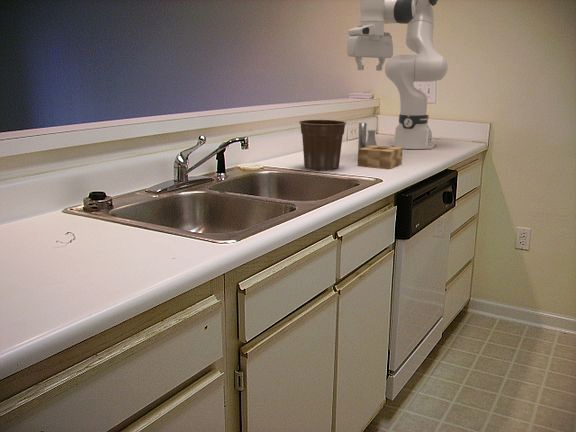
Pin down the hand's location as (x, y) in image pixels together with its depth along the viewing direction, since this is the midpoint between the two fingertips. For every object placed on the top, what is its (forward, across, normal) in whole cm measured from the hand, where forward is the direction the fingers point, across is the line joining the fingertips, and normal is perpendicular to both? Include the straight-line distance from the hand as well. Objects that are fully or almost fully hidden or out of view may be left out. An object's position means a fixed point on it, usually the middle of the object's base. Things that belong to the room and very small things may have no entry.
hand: (369, 70), depth 210 cm
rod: (+33, +3, 0) cm, 33 cm away
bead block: (+33, +4, +12) cm, 36 cm away
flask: (+33, -9, -6) cm, 35 cm away
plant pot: (+34, +25, +4) cm, 42 cm away
